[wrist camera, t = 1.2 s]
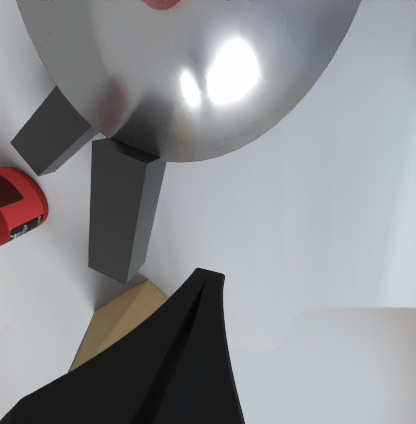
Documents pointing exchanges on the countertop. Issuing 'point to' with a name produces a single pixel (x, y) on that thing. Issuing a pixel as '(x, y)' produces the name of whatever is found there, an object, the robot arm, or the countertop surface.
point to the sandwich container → (118, 319)
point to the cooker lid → (174, 90)
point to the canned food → (19, 204)
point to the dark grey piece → (52, 134)
